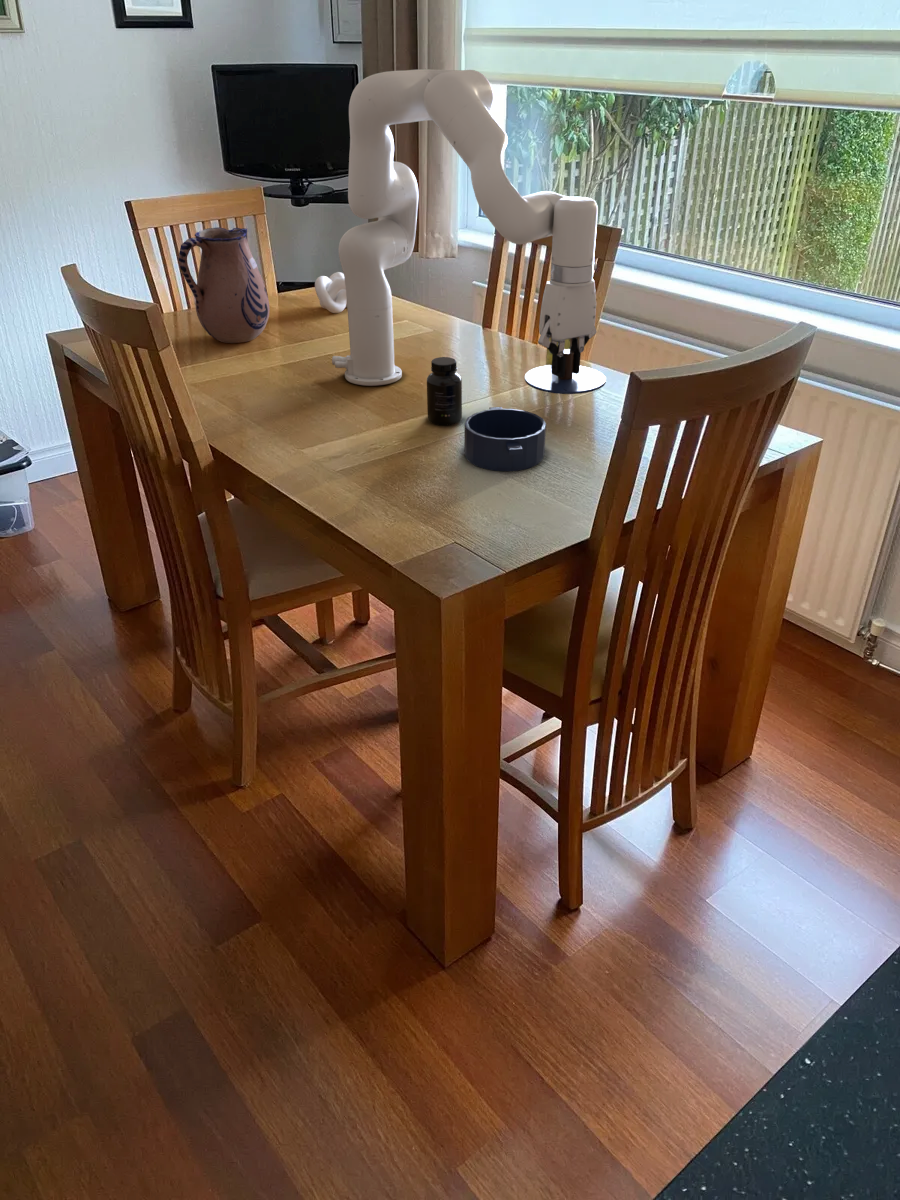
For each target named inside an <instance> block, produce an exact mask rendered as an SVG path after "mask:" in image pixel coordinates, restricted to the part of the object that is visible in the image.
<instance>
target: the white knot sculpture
mask: <svg viewBox="0 0 900 1200" xmlns="http://www.w3.org/2000/svg"><path fill="white" fill-rule="evenodd" d="M314 290H315V294H316V296H317V298H318V301H319V305H320V307H321V308H323V309H325V310H327V311H328V312H330V313H332V314H339V313H341V312H343V311H344V310H345V309H346V308H347V296H346V286H345V279H344V274H343V272H340V271H337V272H336V271H335V272H334V273H332V274H331V275H330V276H329V277H328V276H325V275H320V276H318V277H317V278H316V280H315V282H314Z"/></svg>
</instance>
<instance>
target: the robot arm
mask: <svg viewBox="0 0 900 1200" xmlns="http://www.w3.org/2000/svg"><path fill="white" fill-rule="evenodd" d="M494 103H495V95H494V89H493V87H492V84H491V82H490V80H488V78H487V77H486V76H485V75H484V74H483V73H482V72H480V71H477V70H474V69H459V70H456V69H432V68H431V69H428V68H426V69H425V68H422V69H420V68H419V69H407V70H389V71H383V72H378V73H373V74H371V75H368V76H367V77H365V78H363V79H361V80H360V81H359V82H358V83H357V85H355V87H354V89H353V90H352V93H351V96H350V99H349V104H348V123H349V137H350V138H349V154H348V156H349V157H348V161H349V162H348V181H347V183H348V185H347V187H348V188H347V200H348V205H349V208H350V211H351V212H352V213H353V215H355V216H356V217H357V218H360V219H363V220H371V219H373V220H374V219H377V220H375V221H369V222H365V223H362V224H358V225H355V226H353V227H351V228H349V229H348V230H346V231H345V232H344V234H343V235H342V236H341V238H340V240H339V243H338V258H339V263H340V265H341V270H342V273H343V274H344V279H345V286H346V296H347V320H348V321H347V322H348V336H349V337H348V338H349V339H348V340H349V353H350V354H349V355H346V356H341V355H339V356H338V355H333V356H332V358H331V363H332V365H333V366H334V367H335V369H345V370H344V378H345V380H346V381H347V382H349V383H351V384H354V385H358V386H367V387H377V386H384V385H390V384H393V383H395V382H398V381H399V380H400V379H402V377H403V371H402V369H401V367H400V366H397V365H395V340H394V316H393V315H394V314H393V313H394V312H393V296H392V289H391V287H390V283H389V282H388V279H387V277H386V275H385V270H388V269H391V268H394V267H397V266H400V265H402V264H404V263H406V262H407V261H408V260H409V259H410V258H411V256H412V254H413V252H414V247H415V242H416V231H417V222H418V221H417V219H418V209H419V186H418V182H417V181H418V180H417V178H416V176H415V174H414V172H413V171H412V169H411V168H410V167H409V166H408V165H407V164H405V163H403V162H400V161H394V156H395V142H394V136H393V133H392V130H391V129H390V126H391V125H400V124H409V123H416V122H424V121H432V122H433V123H434V124H435V126H436V127H437V128H438V129H439V131H440V132H441V133H442V135H443V136H444V137H445V139H446V140H447V142H448V143H449V144H450V145H451V147H452V148H453V149H454V150H455V152H456V153H457V154H458V155H459V157H460V158H461V160H463V162H464V163H465V166H467V168H468V169H469V172H470V179H471V181H470V182H471V185H472V189H473V193H474V197H475V200H476V202H477V204H478V207H479V208H480V209H481V212H482V213H483V214H484V215H485V217H486V218H487V220H488V221H489V222H490V223H491V225H492V226H493V227H494V229H495V230H496V231H497V233H499V235H500V236H501V237H502V238H504V239H505V240H507V241H508V242H509V243H511V244H515V245H525V244H529V243H532V242H535V241H538V240H541V239H545V238H548V237H552V242H551V259H550V278H549V280H548V281H546V282H545V286H544V290H543V295H542V300H541V306H540V313H539V322H538V324H539V325H538V332H539V333H538V334H539V338H538V341H537V344H538V345H540V346H542V347H544V348H546V350H547V349H548V350H549V352H550V353H551V354H552V374H554V375H556V376H558V377H561V378H562V377H564V376H565V362H566V357H565V356H563V354H564V346H565V340H566V339H570V348H571V349H569V350H573V351H574V365H573V373H575V374H578V373H579V369H580V366H581V357H582V355H581V354H582V353H583V352H584V351H585V346H586V345H587V344H588V342H589V340H590V339H592V338H593V337H594V336H595V335H596V334H597V333H598V332H597V328H596V319H597V317H596V316H597V292H596V283H595V280H594V278H593V277H594V271H596V270H597V268H598V267H597V266H598V265H597V263H595V251H596V239H597V227H598V215H599V213H598V212H599V207H598V203H597V201H596V200H595V199H592V198H590V197H586V196H585V197H584V196H567V195H563V194H561V193H557V192H554V191H549V190H543V191H537V192H534V193H530V194H525V195H521V194H520V192H519V191H518V190H517V188H516V187H515V186H514V185H513V184H512V182H511V180H510V179H509V178H508V176H507V174H506V173H505V170H504V167H503V162H502V156H503V154H504V153H505V151H506V148H507V146H508V142H509V139H508V138H509V137H508V134H507V133H506V131H505V130H504V129H503V127H502V126H501V125H500V124H499V122H498V121H497V119H496V118H495V117H494V115H493V114H492V113H491V112H492V110H493V108H494ZM550 335H551V342H550V341H549V338H550ZM557 342H558V347H557Z"/></svg>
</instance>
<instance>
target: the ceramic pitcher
mask: <svg viewBox="0 0 900 1200" xmlns="http://www.w3.org/2000/svg"><path fill="white" fill-rule="evenodd" d="M195 247H199V248H200V249H201V255H200V260H199V261H200V262H199V267H198V268H199V269H198V274H197V281H195V279H194V278H193V275H192V274H191V273H192V272H191V270H190V268H189V265H188V256H189V253H190V251H191V249H193V248H195ZM178 263H179V268H180V270H181V273H182V275H183V277H184V281H185V282H186V284H187V285H188V287H189V289H190V291H191V293H192V296H193V297H194V305H195V312H196V316H197V318H198V321H199V324H200V325H201V327H202V329H204V330H205V332H206V333H207V334H208V336H211V337H212V338H213V339H215V340H216V341H219V342H221V343H225V344H240V343H246V342H250V341H253V340H255V339H256V338H258V337H259V336H260V335H261V334H262V333H263V331H264V330H265V328H266V326H267V325H268V324H267V323H268V321H269V317H270V309H271V307H270V300H269V296H268V292H267V288H266V286H265V282H264V279H263V277H262V275H261V272H260V270H259V268H258V264H257V262H256V260H255V257H254V256H253V254H252V251H251V248H250V245H249V242H248V228H244V227H243V228H240V227H233V228H232V229H227V228H225V227H221V226H220V227H219V226H218V227H217V226H216V227H207V228H204V229H203V230H199V231H196V232H195V233H194V237H190V238H188V239H186V240H184V242H182V243H181V244H180V248H179V252H178Z"/></svg>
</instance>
